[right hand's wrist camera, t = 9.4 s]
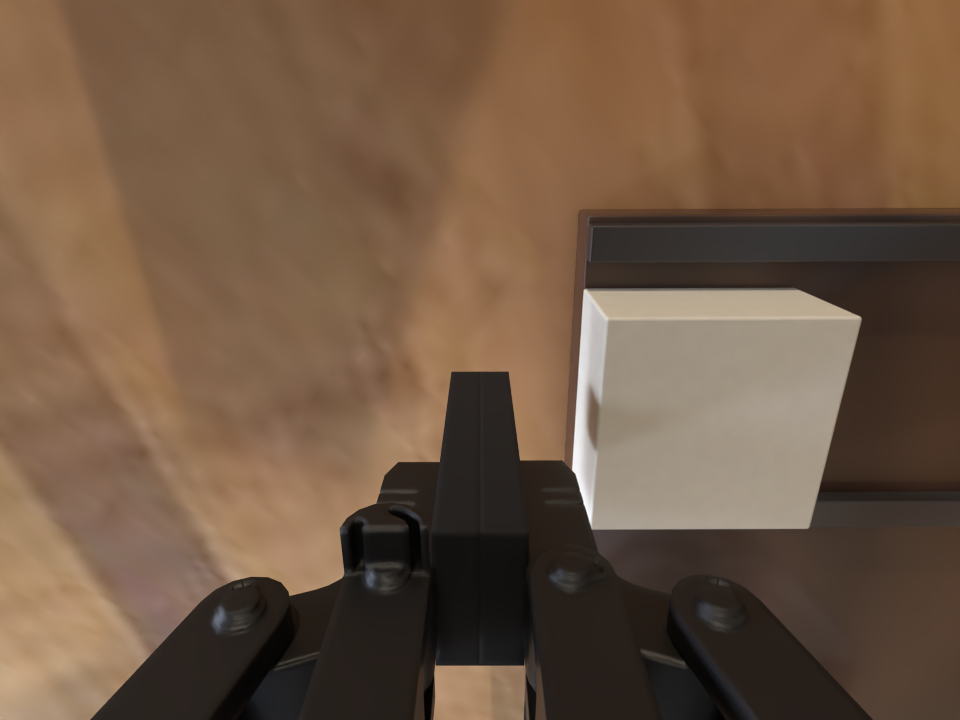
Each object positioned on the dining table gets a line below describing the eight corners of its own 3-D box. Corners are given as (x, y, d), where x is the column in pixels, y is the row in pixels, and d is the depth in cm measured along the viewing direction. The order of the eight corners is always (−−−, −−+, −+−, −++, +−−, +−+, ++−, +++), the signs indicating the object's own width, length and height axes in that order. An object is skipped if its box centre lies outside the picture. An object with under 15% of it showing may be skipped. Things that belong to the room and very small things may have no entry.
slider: (571, 470, 18) (588, 531, 15) (583, 287, 16) (605, 317, 13) (758, 470, 18) (810, 529, 15) (795, 286, 16) (863, 316, 13)
